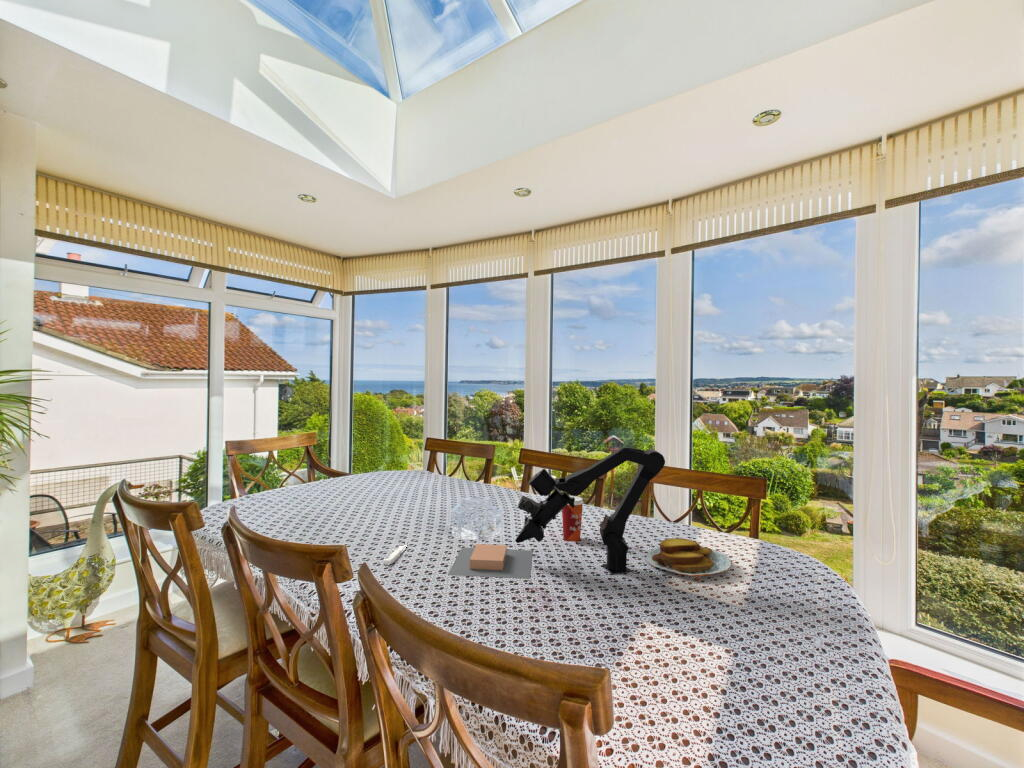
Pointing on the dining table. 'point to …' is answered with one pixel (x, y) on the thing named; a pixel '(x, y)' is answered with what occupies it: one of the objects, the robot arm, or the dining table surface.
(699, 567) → the food on plate
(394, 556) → the knife
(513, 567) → the mat
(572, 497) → the robot arm
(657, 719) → the dining table surface
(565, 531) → the coffee cup
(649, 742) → the dining table surface
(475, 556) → the tile
